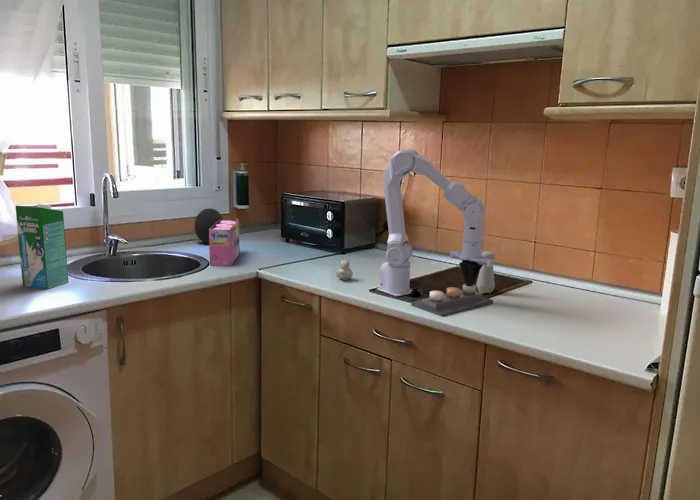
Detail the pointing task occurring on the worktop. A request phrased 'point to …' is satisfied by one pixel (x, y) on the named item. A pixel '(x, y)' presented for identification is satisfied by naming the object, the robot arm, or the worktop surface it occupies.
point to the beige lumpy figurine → (344, 270)
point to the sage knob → (469, 289)
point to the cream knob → (436, 295)
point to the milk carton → (42, 246)
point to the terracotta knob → (453, 292)
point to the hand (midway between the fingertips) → (469, 285)
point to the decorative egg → (206, 223)
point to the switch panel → (453, 303)
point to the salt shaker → (486, 275)
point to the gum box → (224, 242)
